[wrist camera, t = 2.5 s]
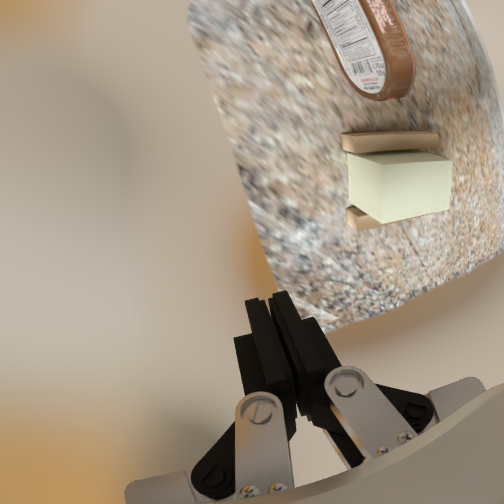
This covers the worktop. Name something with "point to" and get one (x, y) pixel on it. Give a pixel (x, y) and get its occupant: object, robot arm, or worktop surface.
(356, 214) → the chute
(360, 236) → the worktop surface
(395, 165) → the block
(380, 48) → the tin
